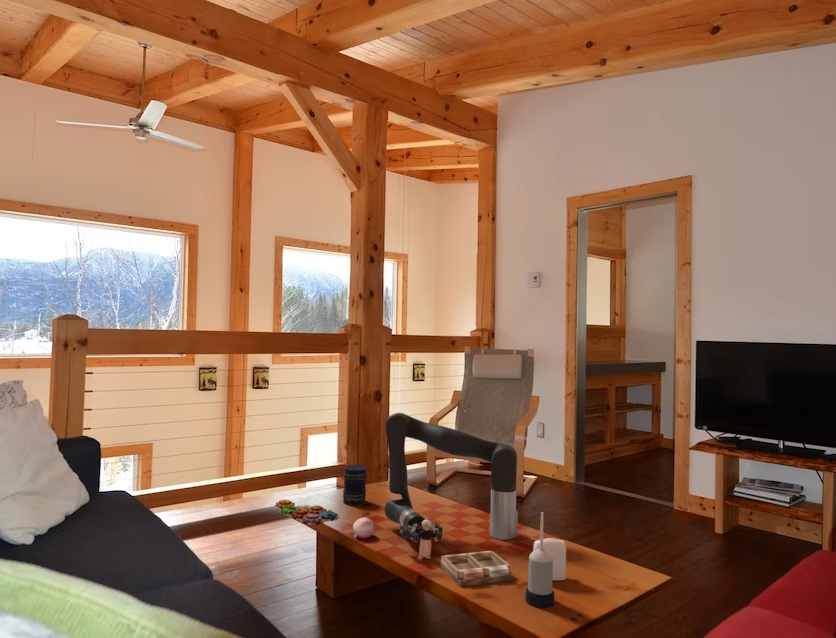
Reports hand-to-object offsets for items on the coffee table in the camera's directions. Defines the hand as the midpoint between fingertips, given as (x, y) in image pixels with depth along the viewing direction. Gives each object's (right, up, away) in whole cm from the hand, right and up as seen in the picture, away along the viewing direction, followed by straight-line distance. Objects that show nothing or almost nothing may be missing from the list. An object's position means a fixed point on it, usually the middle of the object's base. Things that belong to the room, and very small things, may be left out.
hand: (429, 538), depth 202 cm
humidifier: (+31, -8, -28) cm, 43 cm away
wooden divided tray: (+15, -8, -9) cm, 19 cm away
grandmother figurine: (-1, -7, +2) cm, 8 cm away
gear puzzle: (-50, -7, +47) cm, 69 cm away
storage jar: (-31, -7, +63) cm, 71 cm away
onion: (-24, -7, +21) cm, 32 cm away
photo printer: (+37, -9, -12) cm, 40 cm away
